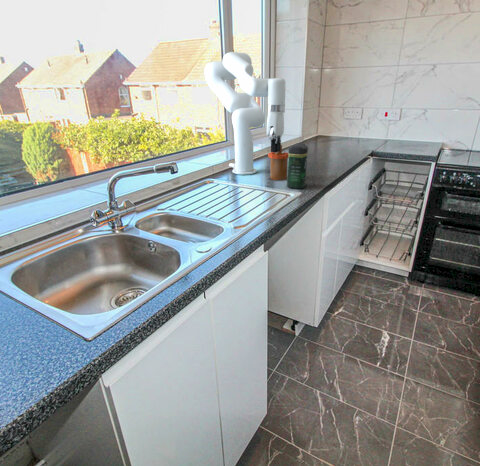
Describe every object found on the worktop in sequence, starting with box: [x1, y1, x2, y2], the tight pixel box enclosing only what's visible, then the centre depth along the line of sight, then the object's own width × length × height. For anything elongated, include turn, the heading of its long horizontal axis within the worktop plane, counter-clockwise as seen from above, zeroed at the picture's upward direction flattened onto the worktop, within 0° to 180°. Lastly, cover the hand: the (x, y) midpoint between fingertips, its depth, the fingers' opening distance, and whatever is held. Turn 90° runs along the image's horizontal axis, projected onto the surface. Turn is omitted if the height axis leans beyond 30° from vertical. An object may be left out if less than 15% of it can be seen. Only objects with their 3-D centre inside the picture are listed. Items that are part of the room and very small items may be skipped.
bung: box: [267, 151, 288, 159], centre depth 156 cm, size 10×10×2 cm
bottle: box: [269, 144, 288, 181], centre depth 158 cm, size 8×8×16 cm
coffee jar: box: [286, 143, 309, 190], centre depth 144 cm, size 10×8×19 cm
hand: (275, 151), depth 152 cm, fingers closed
